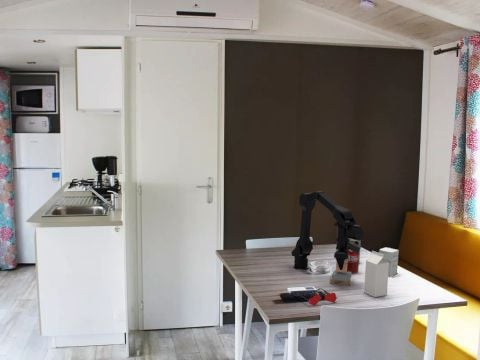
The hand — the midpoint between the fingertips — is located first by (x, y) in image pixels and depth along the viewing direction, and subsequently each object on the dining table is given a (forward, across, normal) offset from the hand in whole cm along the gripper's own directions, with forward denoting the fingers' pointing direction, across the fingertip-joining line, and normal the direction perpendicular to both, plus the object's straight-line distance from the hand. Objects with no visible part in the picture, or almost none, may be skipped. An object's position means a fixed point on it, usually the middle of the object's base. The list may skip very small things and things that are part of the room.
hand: (341, 268), depth 238 cm
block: (+1, 0, 0) cm, 1 cm away
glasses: (+7, -26, +10) cm, 29 cm away
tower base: (+7, 0, 0) cm, 7 cm away
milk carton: (+7, -12, -16) cm, 21 cm away
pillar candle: (+7, +35, -3) cm, 36 cm away
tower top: (+5, 0, 0) cm, 5 cm away
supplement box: (+7, +21, -22) cm, 31 cm away
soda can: (+7, +18, -4) cm, 20 cm away
